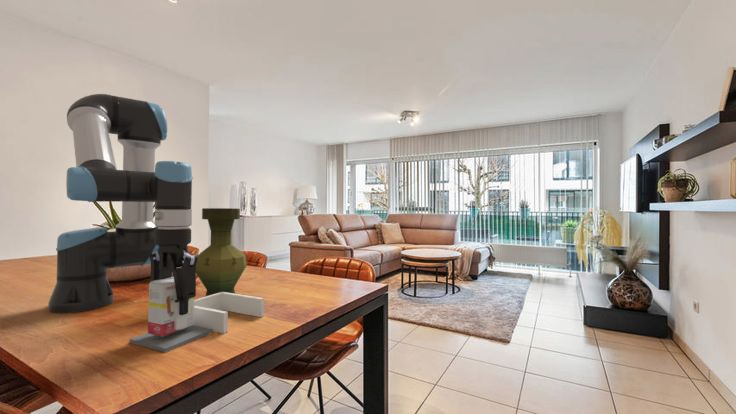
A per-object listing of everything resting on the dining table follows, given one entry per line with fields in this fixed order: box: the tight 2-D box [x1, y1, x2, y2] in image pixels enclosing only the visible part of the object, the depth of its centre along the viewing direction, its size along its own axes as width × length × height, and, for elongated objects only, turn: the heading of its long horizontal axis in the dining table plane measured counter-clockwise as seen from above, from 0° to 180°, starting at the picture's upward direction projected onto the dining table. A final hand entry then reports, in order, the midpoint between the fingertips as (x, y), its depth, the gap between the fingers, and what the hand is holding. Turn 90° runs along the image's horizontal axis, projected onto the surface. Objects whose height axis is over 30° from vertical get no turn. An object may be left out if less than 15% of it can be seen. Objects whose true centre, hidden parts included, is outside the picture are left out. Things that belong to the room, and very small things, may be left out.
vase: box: [196, 207, 248, 297], centre depth 110 cm, size 16×16×30 cm
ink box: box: [147, 276, 195, 337], centre depth 79 cm, size 9×5×12 cm, turn 156°
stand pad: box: [129, 325, 213, 353], centre depth 79 cm, size 12×12×1 cm
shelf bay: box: [194, 292, 265, 334], centre depth 91 cm, size 16×14×5 cm
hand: (172, 325), depth 79 cm, fingers closed on ink box, 5 cm apart
